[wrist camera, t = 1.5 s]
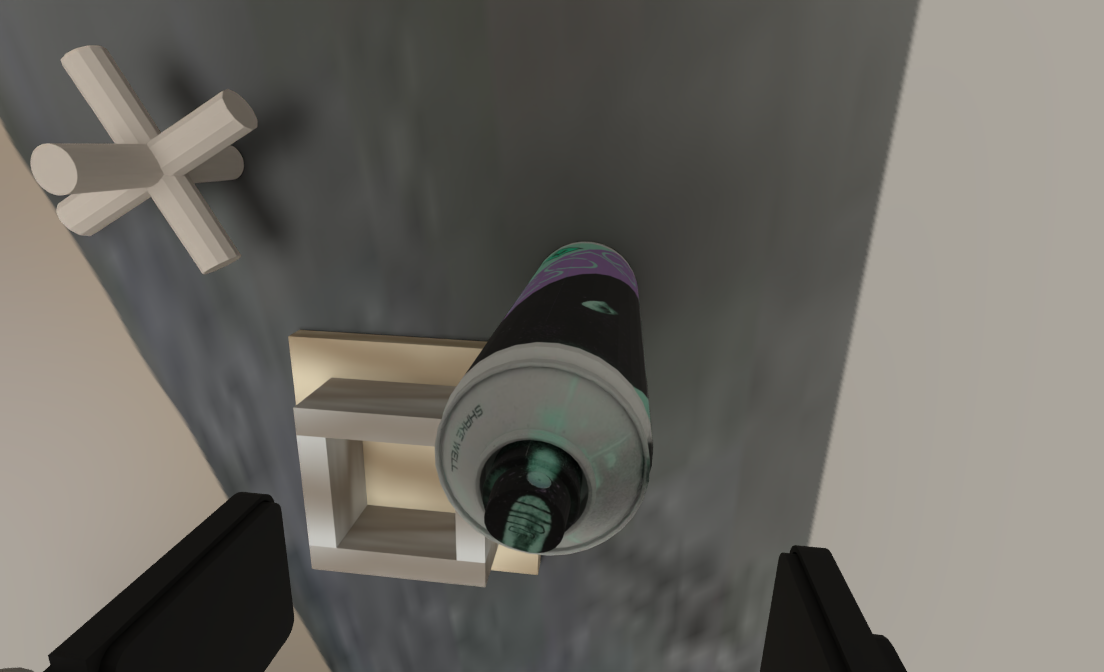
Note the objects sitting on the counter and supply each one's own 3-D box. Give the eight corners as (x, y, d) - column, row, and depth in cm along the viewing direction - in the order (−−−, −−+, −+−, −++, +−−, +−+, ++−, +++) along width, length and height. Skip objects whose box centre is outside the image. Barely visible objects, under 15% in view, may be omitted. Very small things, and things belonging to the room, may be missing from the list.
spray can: (625, 229, 30) (627, 375, 11) (647, 331, 31) (684, 616, 12) (521, 254, 31) (357, 428, 12) (548, 352, 32) (439, 646, 13)
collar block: (299, 329, 34) (244, 361, 29) (545, 345, 32) (531, 381, 27) (322, 539, 38) (277, 598, 33) (540, 561, 36) (527, 626, 32)
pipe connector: (354, 204, 31) (236, 230, 22) (213, 287, 33) (50, 343, 24) (244, 16, 29) (58, -46, 19) (100, 120, 31) (-128, 109, 22)
